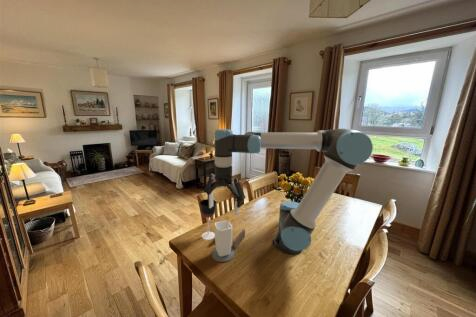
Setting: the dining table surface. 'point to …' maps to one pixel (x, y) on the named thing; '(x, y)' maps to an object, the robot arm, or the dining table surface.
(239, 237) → the rail slot
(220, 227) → the cup
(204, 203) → the wineglass
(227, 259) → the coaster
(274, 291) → the dining table surface
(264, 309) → the dining table surface
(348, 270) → the dining table surface
